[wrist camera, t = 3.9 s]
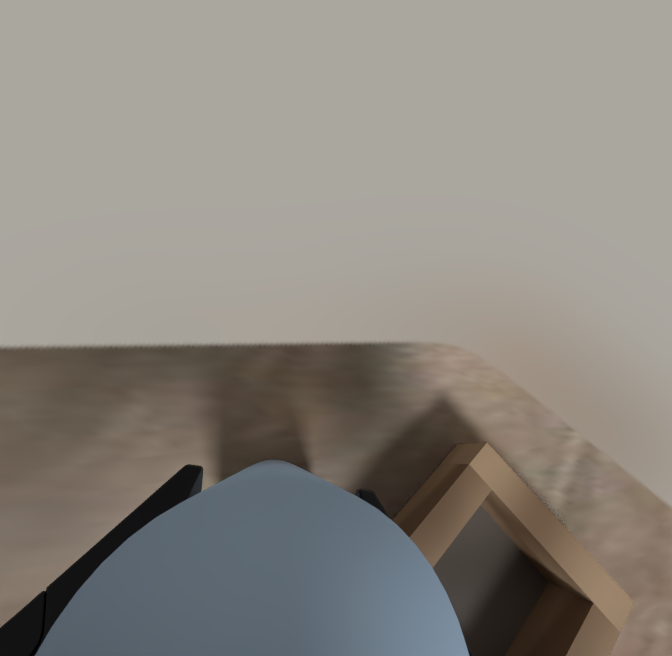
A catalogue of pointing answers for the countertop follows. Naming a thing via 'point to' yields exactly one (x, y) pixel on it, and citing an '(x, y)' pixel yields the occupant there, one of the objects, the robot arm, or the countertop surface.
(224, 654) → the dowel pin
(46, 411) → the countertop surface
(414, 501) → the socket block
